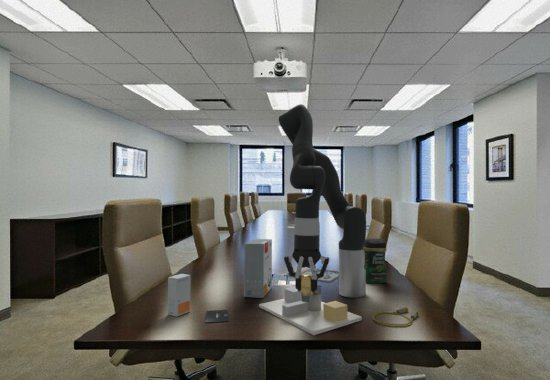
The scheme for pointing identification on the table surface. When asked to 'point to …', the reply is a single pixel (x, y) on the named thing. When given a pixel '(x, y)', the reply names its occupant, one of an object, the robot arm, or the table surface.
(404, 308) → the extension cord
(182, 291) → the skincare box
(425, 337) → the table surface
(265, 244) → the hard drive box
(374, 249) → the coffee jar
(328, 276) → the grey patterned tray
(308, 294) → the bar
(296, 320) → the base
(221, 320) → the solid state drive
